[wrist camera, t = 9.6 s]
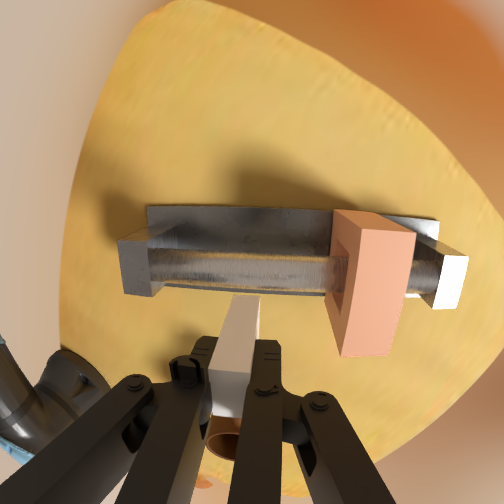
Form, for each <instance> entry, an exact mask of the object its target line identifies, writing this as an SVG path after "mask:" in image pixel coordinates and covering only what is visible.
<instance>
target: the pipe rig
mask: <svg viewBox="0 0 504 504" xmlns="http://www.w3.org/2000/svg"><path fill="white" fill-rule="evenodd" d="M333 212H334V211H331V210H315V209H297V208H275V207H245V206H147V224H148V227H146V228H144V229H141V230H139V231H137V232H134V233H132V234H130V235H128V236H126V237H123V238H121V239H119V240H117V243H118V252H119V261H120V268H121V275H122V282H123V289H124V294H130V295H138V296H146V297H153V296H154V295H155V294H156V293H157V292H158V291H159V290H160V289H161V288H162V287H163V286H169V287H180V288H191V289H203V290H216V291H230V292H245V293H261V294H280V295H302V296H325V293H344V291H345V285H346V278H347V270H348V263H349V257H341V256H330V249H331V238H332V226H333ZM378 215H380V216H382V217H384V218H387V219H389V220H391V221H393V222H395V223H397V224H399V225H401V226H403V227H405V228H407V229H409V230H411V231H413V232H415V233H416V240H415V247H414V253H413V259H412V265H411V270H410V275H409V280H408V285H407V289H406V294H405V297H421V298H422V299H423V300H424V301H425V302H426V303H427V304H428V305H429V306H430V307H431V308H432V309H443V308H456V305H457V302H458V298H459V295H460V291H461V287H462V283H463V279H464V275H465V271H466V266H467V262H468V257H467V256H466V255H464V254H462V253H460V252H458V251H456V250H455V249H453V248H451V247H449V246H447V245H445V244H443V243H441V242H439V241H437V238H438V231H439V224H440V221H437V220H429V219H421V218H412V217H402V216H392V215H382V214H378Z"/></svg>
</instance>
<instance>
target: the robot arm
mask: <svg viewBox="0 0 504 504" xmlns="http://www.w3.org/2000/svg"><path fill="white" fill-rule="evenodd" d="M259 315H260V296H245V295H233V298H232V301H231V304H230V307H229V310H228V313H227V315H226V318H225V321H224V324H223V327H222V330H221V333H220V336H219V337H211V336H202V337H201V338H200V339H199V340H197V341H196V343H195V346H194V349H193V350H192V352H191V354H190V356H188V355H184V356H179V357H176V358H175V359H173V360H172V361H171V362H170V363H169V366H170V371H171V376H172V381H170V382H166V383H152V382H151V381H150V379H149V378H148V377H146V376H145V375H141V374H133V375H129V376H127V377H125V378H123V379H122V380H121V381H120V382H119V383H118V384H117V385H115V386H114V387H113V388H112V389H111V388H110V387H109V385H108V384H107V382H106V381H105V380H104V378H103V377H102V376H101V375H100V374H99V372H98V371H97V370H96V369H95V368H94V367H92V366H91V365H90V364H89V363H88V362H87V361H85V360H84V359H83V358H81V357H80V356H78V355H76V354H75V353H73V352H70V351H67V350H58V351H56V352H55V353H54V354H53V355H52V356H51V357H50V358H49V359H48V362H47V366H46V368H45V369H44V371H43V374H42V376H41V378H40V380H39V382H38V383H37V384H36V385H35V386H34V387H32V385H31V384H30V382H29V381H28V380H27V378H26V377H25V375H24V374H23V372H22V371H21V369H20V368H19V367H18V365H17V363H16V362H15V360H14V358H13V356H12V355H11V353H10V351H9V349H8V347H7V346H6V344H5V340H4V339H3V338H2V337H1V335H0V447H1V448H2V449H3V450H5V451H6V452H7V453H8V454H9V455H10V456H11V457H13V458H14V459H15V460H16V461H18V462H19V463H20V464H22V465H23V466H22V467H21V468H20V469H19V470H17V471H16V472H15V473H14V474H13V475H11V476H10V477H9V478H8V479H7V480H6V481H4V482H3V483H2V484H1V485H0V504H100V503H101V502H102V501H103V499H104V498H105V497H106V496H107V495H108V494H109V493H110V492H111V491H112V490H113V488H114V487H115V486H116V485H117V484H118V483H119V482H120V480H121V479H122V478H123V477H124V476H125V475H126V474H127V472H128V471H129V472H128V474H127V477H126V479H125V481H124V483H123V485H122V488H121V490H120V492H119V494H118V496H117V499H116V501H115V503H114V504H190V501H191V497H192V494H193V490H194V486H195V482H196V479H197V475H198V471H199V467H200V463H201V460H202V456H203V452H204V448H205V444H206V441H207V437H208V433H209V429H210V425H211V420H210V415H211V411H213V415H216V416H224V417H234V418H242V419H241V426H240V432H239V438H238V444H237V450H236V456H235V462H234V468H233V474H232V479H231V485H230V491H229V497H228V503H227V504H280V500H281V499H280V498H281V471H282V441H283V442H287V443H290V444H293V447H294V450H295V453H296V456H297V459H298V461H299V464H300V467H301V470H302V473H303V475H304V478H305V481H306V484H307V487H308V489H309V492H310V495H311V497H312V500H313V503H314V504H396V502H395V501H394V499H393V497H392V495H391V494H390V492H389V490H388V488H387V487H386V485H385V483H384V482H383V480H382V478H381V476H380V475H379V473H378V471H377V469H376V467H375V466H374V464H373V462H372V460H371V459H370V457H369V455H368V453H367V452H366V450H365V448H364V446H363V445H362V443H361V441H360V439H359V438H358V436H357V434H356V432H355V431H354V429H353V427H352V425H351V424H350V422H349V420H348V418H347V417H346V415H345V413H344V411H343V410H342V408H341V406H340V404H339V403H338V401H337V399H336V398H335V397H334V396H333V395H331V394H329V393H327V392H323V391H314V392H311V393H308V394H307V395H305V396H304V397H301V396H297V395H294V394H291V393H289V392H288V391H286V390H285V389H284V387H283V386H282V382H281V346H280V344H279V343H278V342H277V340H261V339H258V338H259Z"/></svg>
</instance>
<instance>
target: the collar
mask: <svg viewBox="0 0 504 504" xmlns="http://www.w3.org/2000/svg"><path fill="white" fill-rule="evenodd" d="M415 240H416V233H415V232H413V231H411V230H409V229H407V228H405V227H403V226H401V225H399V224H397V223H395V222H393V221H391V220H389V219H387V218H384V217H382V216H380V215H378V214H376V213H373V212H366V211H354V210H340V209H334V212H333V226H332V238H331V249H330V256H341V257H349V263H348V270H347V278H346V285H345V291H344V293H325V301H324V302H325V305H326V308H327V312H328V315H329V318H330V322H331V325H332V329H333V332H334V336H335V340H336V343H337V347H338V351H339V354H340V357H366V356H385V355H388V354H389V351H390V348H391V345H392V342H393V338H394V335H395V332H396V328H397V325H398V321H399V318H400V314H401V310H402V306H403V302H404V298H405V294H406V289H407V285H408V280H409V275H410V270H411V265H412V259H413V253H414V247H415Z"/></svg>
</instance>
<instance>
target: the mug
mask: <svg viewBox="0 0 504 504" xmlns="http://www.w3.org/2000/svg"><path fill="white" fill-rule="evenodd" d="M241 419H242V418H234V417H224V416H216V415H213V412H212V415H211V418H210V420H211V425H210V429H209V433H208V437H207V441H206V447H207V448H208V450H209V451H210V452H212V453H213V454H215V455H216V456H218V457H220V458H223V459H226V460H230V461H235V456H236V450H237V444H238V438H239V432H240V426H241Z"/></svg>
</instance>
